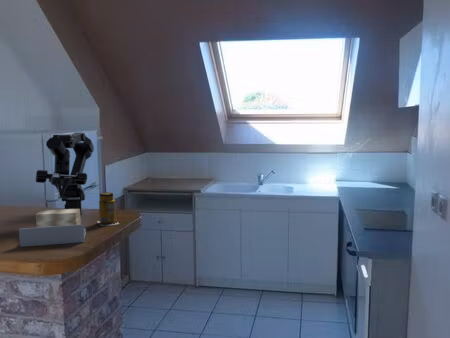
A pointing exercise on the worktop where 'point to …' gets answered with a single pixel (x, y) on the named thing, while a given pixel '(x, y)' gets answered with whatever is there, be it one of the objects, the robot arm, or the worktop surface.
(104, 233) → the worktop surface
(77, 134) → the robot arm
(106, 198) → the condiment
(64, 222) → the wide block
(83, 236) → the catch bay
